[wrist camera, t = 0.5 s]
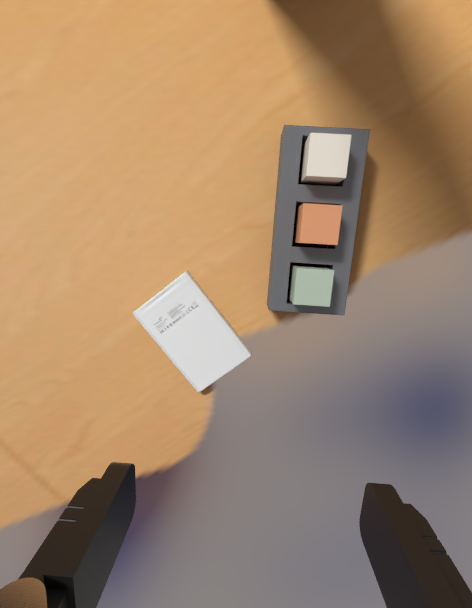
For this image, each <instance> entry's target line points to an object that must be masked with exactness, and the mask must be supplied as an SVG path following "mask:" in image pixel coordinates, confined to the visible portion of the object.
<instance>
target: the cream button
mask: <svg viewBox="0 0 472 608" xmlns="http://www.w3.org/2000/svg"><path fill="white" fill-rule="evenodd" d="M350 143H351V135H348V134H329V133H310V135H309V136H308V138H307V140H306V142H305V143H304V148H303V158H302V168H301V178H300V183H311V184H328V185H336V184H338V183H339V182H341V181H342V180H344V179H345V178H346V175H347V167H348V159H349V151H350Z"/></svg>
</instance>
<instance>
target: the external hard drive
mask: <svg viewBox="0 0 472 608" xmlns="http://www.w3.org/2000/svg"><path fill="white" fill-rule="evenodd" d="M133 315H134V316H135V317H136V318H137V320H138V321H139V322H140V323H141V324H142V326H143V327H144V328H145V329H146V330H147V332H148V333H149V334H150V335H151V336H152V338H153V339H154V340H155V341H156V343H157V344H158V345H159V346H160V347H161V349H162V350H163V351H164V352H165V353H166V355H167V356H168V357H169V358H170V359H171V361H172V362H173V363H174V364H175V365H176V367H177V368H178V369H179V370H180V372H181V373H182V374H183V375H184V376H185V377H186V379H187V380H188V381H189V382H190V383H191V385H192V386H193V387H194V388H195V389H196V391H197V392H201V391H202V390H204V389H205V388H206V387H208V386H209V385H211V384H212V383H214V382H215V381H216V380H218V379H219V378H221V377H222V376H223V375H225V374H226V373H228V372H229V371H231V370H232V369H234V368H235V367H237V366H238V365H239V364H241V363H242V362H244V361H245V360H246V359H248V358H249V357H250V356H251V355H252V354H251V351H250V349H248V347H247V346H246V344H245V343H244V342H243V340H242V339H241V338H240V337H239V336H238V335H237V333H236V332H235V331H234V330H233V328H232V327H231V326H230V324H229V323H228V322H227V321H226V319H225V318H224V317H223V316H222V314H221V313H220V312H219V310H218V309H217V308H216V307H215V305H214V304H213V303H212V302H211V300H210V299H209V298H208V296H207V295H206V294H205V293H204V291H203V290H202V289H201V288H200V286H199V285H198V284H197V283H196V281H195V280H194V279H193V277H192V276H191V275H190V274H189V272H188V271H185V272H184V273H183V274H181V275H180V276H179V277H178V278H176V279H175V280H174V281H173V282H171V283H170V284H169V285H168V286H166V287H165V288H164V289H163V290H161V291H160V292H159V293H157V294H156V295H155V296H154V297H152V298H151V299H150V300H148V301H147V302H146V303H145V304H143V305H142V306H141V307H140V308H138V309H137V310H136V311H134V312H133Z"/></svg>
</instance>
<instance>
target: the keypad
mask: <svg viewBox="0 0 472 608" xmlns="http://www.w3.org/2000/svg"><path fill="white" fill-rule="evenodd" d="M369 132H370V129H352V128H333V127H313V126H294V125H284V128H283V131H282V135H281V143H280V155H279V167H278V179H277V191H276V203H275V215H274V227H273V239H272V251H271V263H270V275H269V287H268V299H267V306H268V309H269V310H274V311H288V312H303V313H318V314H333V315H344V314H345V306H346V299H347V292H348V284H349V277H350V270H351V263H352V255H353V248H354V241H355V233H356V226H357V219H358V212H359V204H360V197H361V190H362V183H363V175H364V168H365V161H366V153H367V146H368V139H369ZM310 133H329V134H348V135H351V143H350V151H349V159H348V167H347V175H346V178H345V179H344V180H342V181H341V182H339V183H338V184H336V185H335V186H321V185H303V184H298V178H299V168H300V158H301V147H302V145H303V146H304V143H305V142H306V140H307V138H308V136H309V135H310ZM303 203H309V204H326V205H343V206H342V214H341V222H340V230H339V238H338V245H328V249H326V248H310V247H294V246H292V240H293V230H294V220H295V209H296V205H302V204H303ZM290 262H295V263H310V264H326V267H325V268H329V269H332V270H334V277H333V285H332V293H331V301H330V307H326V306H311V305H296V304H293V303H292V302H291V301H290V299H287V292H288V282H289V271H290Z"/></svg>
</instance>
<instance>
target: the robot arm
mask: <svg viewBox="0 0 472 608" xmlns="http://www.w3.org/2000/svg"><path fill="white" fill-rule="evenodd" d="M135 503H136V486H135V466H134V464H129V463H116V462H112V463H111V464H110V465H109V466H108V468H107V470H106V471H105V473H104V475H103V476H102V478H101V479H98V478H92V479H91V480H90V481H88V482H87V483H86V484H85V485H84V486H82V487H81V488H80V489H79V490H78V491H77V492H76V494H75V495H74V497H73V498H72V500H71V501H70V503H69V504H68V507H67V508H66V509H65V510H64V512H63V513H62V515H61V517H60V518H59V521H57V523H56V524H55V525H54V527H53V528H52V530H51V531H50V533H49V534H48V536H47V538H46V539H45V540H44V542H43V544H42V545H41V546H40V548H39V549H38V551H37V552H36V554H35V556H34V557H33V559H32V560H31V561H30V563H29V565H28V566H27V567H26V569H25V571H24V572H23V573H22V575H21V576H20V577H19V579H18V580H16V581H13V582H11V583H9V584H7V585H6V586H4V587H3V588H1V589H0V608H96V607H97V604H98V602H99V599H100V597H101V594H102V592H103V589H104V587H105V585H106V582H107V580H108V577H109V575H110V572H111V570H112V568H113V565H114V562H115V560H116V558H117V555H118V553H119V550H120V548H121V546H122V543H123V541H124V538H125V536H126V533H127V531H128V528H129V526H130V523H131V521H132V518H133V515H134V510H135ZM360 532H361V537H362V541H363V544H364V546H365V549H366V552H367V555H368V557H369V560H370V563H371V565H372V568H373V571H374V574H375V576H376V579H377V582H378V585H379V587H380V590H381V593H382V595H383V598H384V601H385V604H386V606H387V608H472V593H471V591H470V589H469V588H468V586H467V584H466V583H465V581H464V580H463V578H462V576H461V575H460V573H459V572H458V570H457V568H456V567H455V565H454V563H453V562H452V560H451V558H450V557H449V556H448V555H447V554H446V550H445V549H444V547H443V546H442V544H441V542H440V541H439V540H437V536H436V534H435V533H434V531H433V529H432V528H431V526H430V525H429V523H428V521H427V520H426V519H425V518H424V517H423V516H422V515H421V514H420V513H419V512H418V511H417V510H416V509H415V508H414V507H413V506H412V505H411V504H403V502H402V500H401V499H400V497H399V495H398V494H397V492H396V490H395V488H394V487H393V486H392V485H390V484H376V483H367V484H366V487H365V492H364V498H363V503H362V509H361V515H360Z"/></svg>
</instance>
